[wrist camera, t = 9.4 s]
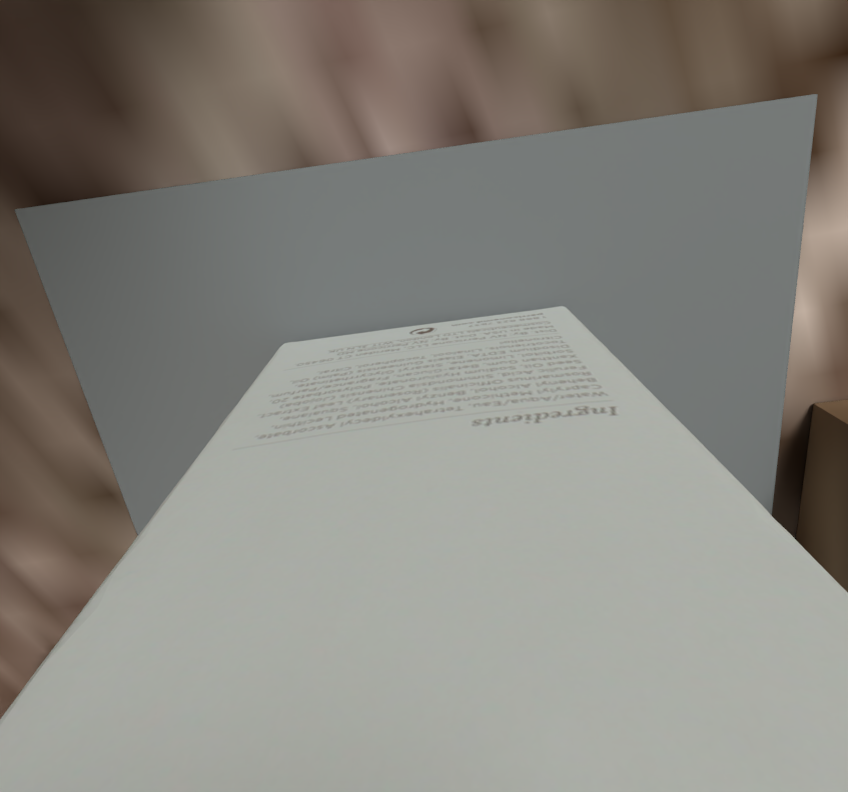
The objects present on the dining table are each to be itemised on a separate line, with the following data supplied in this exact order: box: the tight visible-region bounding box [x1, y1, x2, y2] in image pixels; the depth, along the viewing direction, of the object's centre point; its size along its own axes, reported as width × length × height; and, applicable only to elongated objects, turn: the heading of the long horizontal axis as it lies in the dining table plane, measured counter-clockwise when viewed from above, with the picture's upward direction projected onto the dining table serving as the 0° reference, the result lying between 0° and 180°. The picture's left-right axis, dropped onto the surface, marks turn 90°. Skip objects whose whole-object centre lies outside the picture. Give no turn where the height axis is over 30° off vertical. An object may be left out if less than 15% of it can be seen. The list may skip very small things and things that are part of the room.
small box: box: [0, 306, 848, 792], centre depth 8 cm, size 8×6×10 cm
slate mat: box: [15, 94, 817, 535], centre depth 13 cm, size 14×14×1 cm
